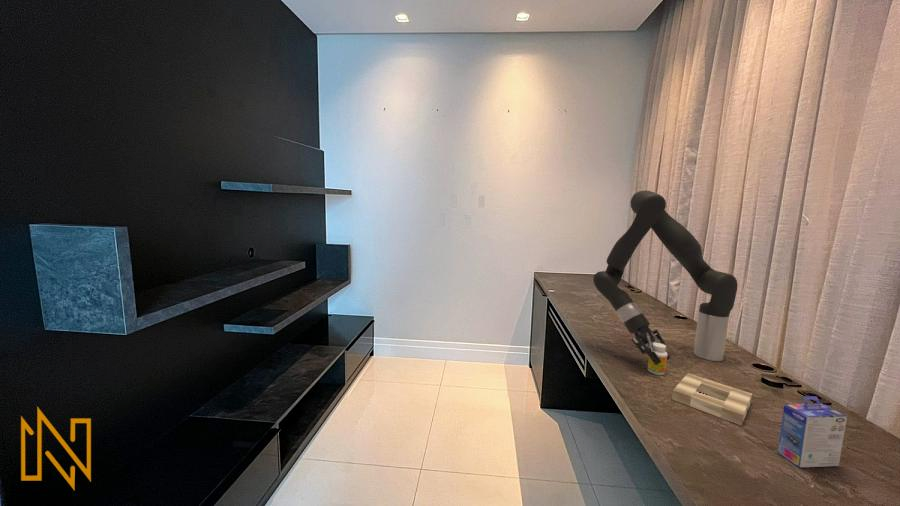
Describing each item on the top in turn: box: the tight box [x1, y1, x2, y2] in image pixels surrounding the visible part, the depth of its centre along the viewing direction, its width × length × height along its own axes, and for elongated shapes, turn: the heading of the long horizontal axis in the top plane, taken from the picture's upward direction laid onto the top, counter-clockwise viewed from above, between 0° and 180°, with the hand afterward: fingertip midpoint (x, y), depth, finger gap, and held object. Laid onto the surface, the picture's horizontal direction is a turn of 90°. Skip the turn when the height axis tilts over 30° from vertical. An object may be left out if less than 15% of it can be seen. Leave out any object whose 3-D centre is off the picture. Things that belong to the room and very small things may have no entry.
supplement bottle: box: [647, 342, 669, 376], centre depth 118 cm, size 5×5×10 cm
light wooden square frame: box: [671, 372, 753, 426], centre depth 101 cm, size 16×16×3 cm
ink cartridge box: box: [777, 395, 848, 468], centre depth 78 cm, size 10×6×14 cm, turn 95°
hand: (663, 361), depth 117 cm, fingers closed on supplement bottle, 5 cm apart
